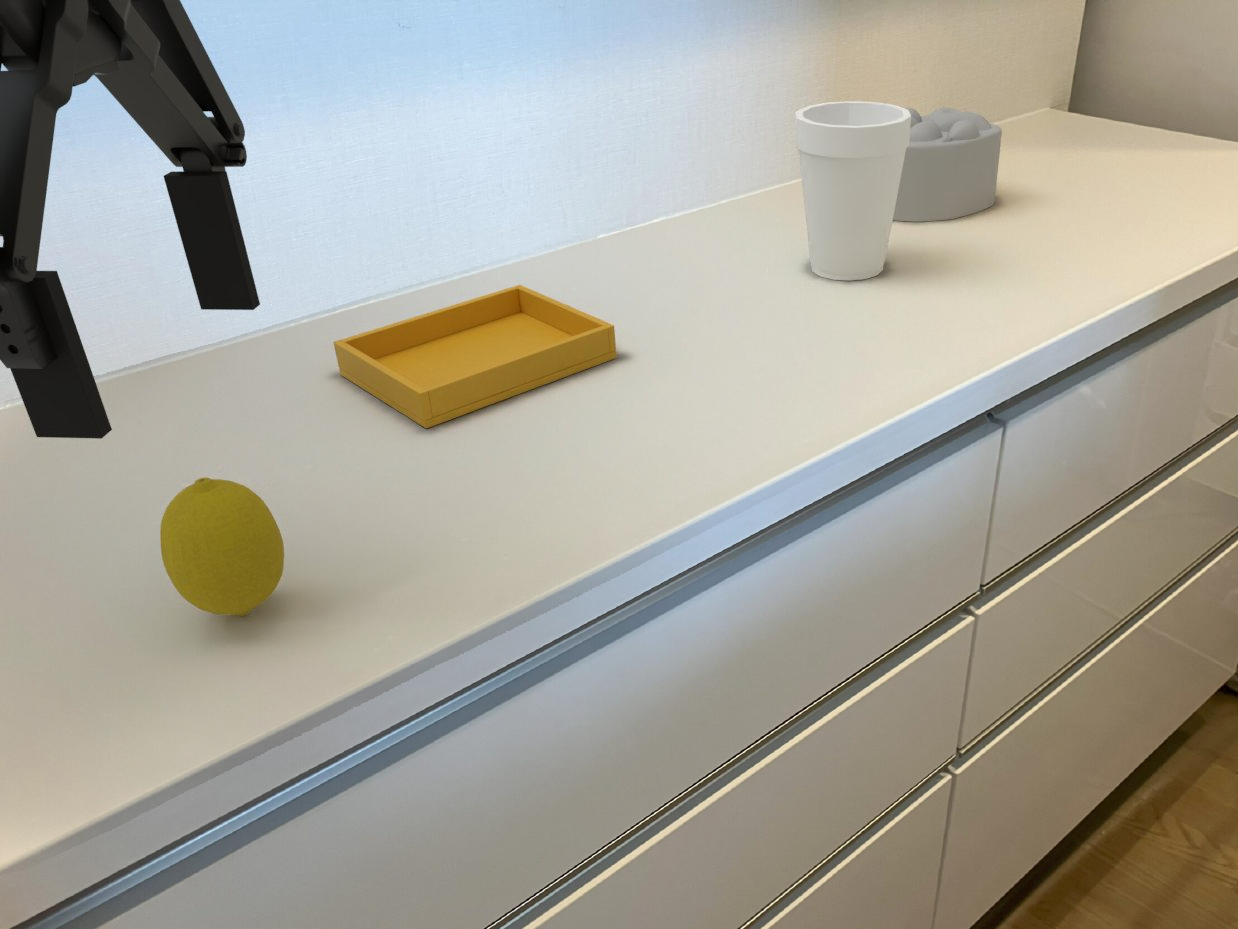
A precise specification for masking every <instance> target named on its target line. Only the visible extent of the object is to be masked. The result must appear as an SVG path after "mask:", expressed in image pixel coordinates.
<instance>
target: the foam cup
mask: <svg viewBox="0 0 1238 929" xmlns="http://www.w3.org/2000/svg"><path fill="white" fill-rule="evenodd" d="M905 108H906V107H901V106H899V105H896V104H891V103H883V102H877V101H861V100H860V101H858V100H855V101H854V100H846V101H845V100H843V101H831V102H822V103H817V104H811V105H807V106H804V107H802V108H800V109H798V110H797V111H795V115H794V116H795V119H794V120H795V122H794V124H795V125H794V126H795V128H794V131H795V132H794V143H795V148H796V149H798V159H799V167H800V169H799V170H800V177H801V178H800V179H801V187H802V188H801V189H802V196H803V204H804V214H805V225H806V232H807V243H808V251H809V260H810V267H811V268H810V269H811V272H812V273H813V274H815V275H817V276H818V277H821V278H825V279H829V280H835V281H846V282H847V281H849V282H850V281H861V280H867V279H870V278H873V277H876V276H878V275H879V274H881V273H882V272H883V271H884V264H885V263H886V258H887V253H888V252H887V251H888V246H889V242H890V237H891V231H892V225H893V221H894V220H893V216H894V210H895V205H896V200H897V195H898V189H899V184H900V179H901V173H902V168H903V163H904V158H905V152H906V147H908V146H909V142H910V126H911V114H910V112H909V110H907V109H905Z"/></svg>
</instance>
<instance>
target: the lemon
mask: <svg viewBox="0 0 1238 929" xmlns="http://www.w3.org/2000/svg"><path fill="white" fill-rule="evenodd" d="M159 529H160V531H159V536H160V541H159V542H160V550H161V551H160V553H161V559H162V562H163V563H162V564H163V567H164V569H165V572H166V574H167V576H168V578H169V579H170V581H171V583H172V585H173V586H174V588H175V589H176V591H177V593H179V595H180V596H181V597H182V598H183V599H184V600H185V601H187V602H188V603H190V604H191V605H192V606H193V607H195V608H197V609H198V610H201V611H203V612H207V613H210V614H214V615H221V616H231V615H233V616H237V617H244V616H247V615H249V614H250V612H251V611H252V610H253V609H256V608H258V606H260V605H261V604H263V603H264V602H266V601H267V600H269V598H270V597H271V595H272V594H274V592H275V590H276V589H277V587H278V585H279V584H280V582H281V579H282V577H283V573H284V567H285V566H284V565H285V546H284V541H283V537H282V533H281V530H280V528H279V526H278V523H277V521H276V519H275V518H274V515H273V513H272V512H271V510H270V508H269V507H268V505H267V504H266V502H265V501H264V500H263V499H262V498H261V497H260V496H259V495H258V494H257V493H256V492H254V491H253V490H252V489H251V488H249V487H247V486H245V485H244V484H241V483H238V482H235V481H232V480H227V479H222V478H213V479H212V478H210V477H205V476H204V477H200V478H198V479H196V480H195V481H194V483H192V484H191V485H187V486H186V487H185V488H183V489H182V490H181V491H179V492H178V493H177V494H175V496H174V497H173V498H172V500H171V501H170V502H169V503H168V505H167V506H166V509H165V510H164V513H163V515H162V518H161V521H160V528H159Z"/></svg>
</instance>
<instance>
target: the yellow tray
mask: <svg viewBox="0 0 1238 929" xmlns="http://www.w3.org/2000/svg"><path fill="white" fill-rule="evenodd" d="M616 346H617V344H616V332H615V325H614V324H611V323H609V322H607V321H605V320H602V319H600V318H597V317H595V316H594V315H591V314H589V313H586V312H584V311H581V310H579V309H577V308H575V307H572V306H570V305H568V304H566V303H563V302H561V301H558V300H556V299H554V298H552V297H549V296H547V295H544V294H543V293H540V292H537V291H535V290H533V289H531V288H528V287H526V286H524V285H522V284H518V285H514V286H511V287H508V288H505V289H501V290H497V291H495V292H492V293H488V294H485V295H482V296H481V295H480V296H478V297H476V298H475V297H474V298H472V299H469V300H465V301H462V302H458V303H455V304H451V305H450V306H445V307H443V308H440V309H436V310H432V311H430V312H426V313H424V314H419V315H417V316H413V317H411V318H406V319H404V320H401V321H397V322H394V323H390V324H388V325H387V324H386V325H384V326H381V327H377V328H375V329H371V330H368V331H364V332H361V333H359V334H355V335H352V336H348V337H344V338H341V339H339V340H336V341H333V347H334V351H335V356H336V360H337V367H338V369H339V374H340V376H341V377H343V378H345V379H346V380H348V381H350V382H351V383H353V384H354V385H356V386H358V387H359V388H361V389H362V390H364V391H366V392H367V393H369V394H370V395H372V396H374V397H375V398H377V399H378V400H380V401H382V402H383V403H385V404H386V405H387V406H390V407H392V408H393V409H394V410H396V411H398V412H399V413H401V414H402V415H404V416H405V417H407V418H408V419H410V420H412V421H413V422H415V423H416V424H418V425H420V426H421V427H423V428H424V429H429V428H432V427H434V426H438V425H441V424H442V423H443V424H444V423H445V422H448V421H450V420H453V419H457V418H459V417H461V416H464V415H467V414H470V413H472V412H475V411H478V410H481V409H483V408H485V407H488V406H491V405H493V404H497V403H500V402H501V401H504V400H507V399H509V398H512V397H515V396H518V395H520V394H523V393H526V392H528V391H532V390H535V389H537V388H539V387H542V386H545V385H547V384H550V383H553V382H556V381H558V380H561V379H564V378H567V377H569V376H572V375H574V374H576V373H579V372H580V373H581V372H582V371H585V370H588V369H590V368H593V367H596V366H599V365H601V364H603V363H606V362H609V361H612V360H615V359H617V347H616Z"/></svg>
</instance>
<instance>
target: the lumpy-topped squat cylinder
mask: <svg viewBox="0 0 1238 929" xmlns="http://www.w3.org/2000/svg"><path fill="white" fill-rule="evenodd" d="M904 108H905V109H907V110H909V112H910V114H911V126H910V142H909V146H908V147H906V152H905V158H904V163H903V168H902V173H901V179H900V184H899V189H898V195H897V200H896V205H895V210H894V216H893V221H898V222H935V221H947V220H953V219H958V218H962V217H966V216H969V215H972V214H973V215H974V214H975V213H978V212H981V211H983V210H985V209H988V208H991V207H992V206H993V205H994V204H995V202H996V192H997V184H998V173H999V164H1000V163H999V162H1000V154H1001V153H1000V152H1001V144H1002V135H1003V130H1002V127H1001V126H999V125H998V124H994V123H990V122H989V120H987V119H986V118H985V116H983V115H981V114H980V113H976V112H972V111H967V110H963V111H962V110H959V109H957V108H952V107H944V106H943V107H938V108H936V109H934V110H933V111H932V112H931V113H930V114H928V115H927V114H926V115H920V113H919V112H918V111H917V109H914V108H912V107H904Z"/></svg>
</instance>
